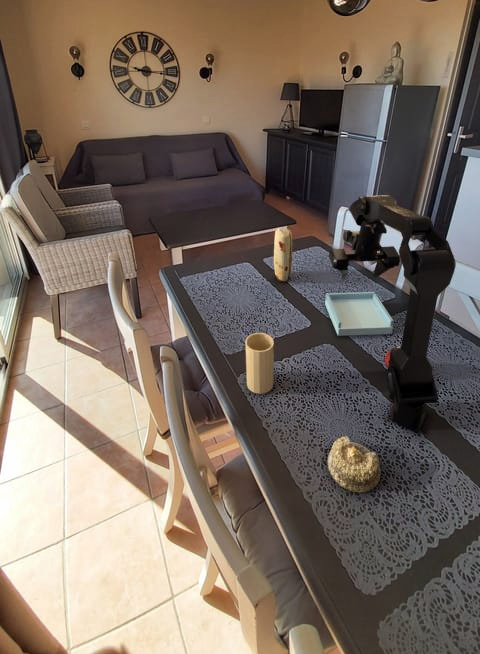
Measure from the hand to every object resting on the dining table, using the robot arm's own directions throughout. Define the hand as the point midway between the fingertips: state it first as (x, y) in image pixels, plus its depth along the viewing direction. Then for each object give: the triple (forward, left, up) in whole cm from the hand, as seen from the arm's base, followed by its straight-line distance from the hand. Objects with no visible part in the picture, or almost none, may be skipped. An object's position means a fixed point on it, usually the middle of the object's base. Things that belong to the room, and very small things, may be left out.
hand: (358, 278), depth 106 cm
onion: (-14, -17, -16) cm, 27 cm away
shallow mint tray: (+2, 0, -15) cm, 16 cm away
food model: (+10, +32, -16) cm, 37 cm away
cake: (-44, -18, -16) cm, 50 cm away
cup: (-37, +9, -15) cm, 42 cm away
